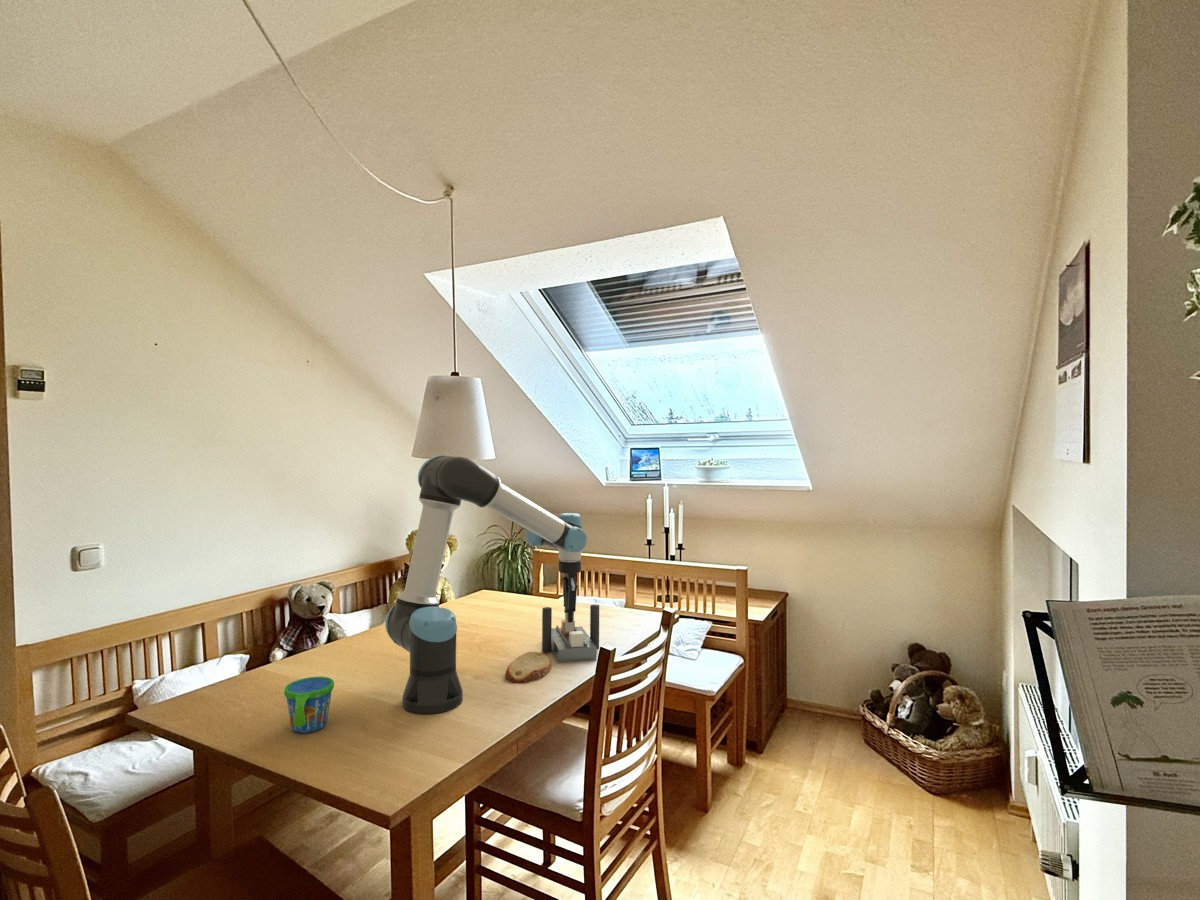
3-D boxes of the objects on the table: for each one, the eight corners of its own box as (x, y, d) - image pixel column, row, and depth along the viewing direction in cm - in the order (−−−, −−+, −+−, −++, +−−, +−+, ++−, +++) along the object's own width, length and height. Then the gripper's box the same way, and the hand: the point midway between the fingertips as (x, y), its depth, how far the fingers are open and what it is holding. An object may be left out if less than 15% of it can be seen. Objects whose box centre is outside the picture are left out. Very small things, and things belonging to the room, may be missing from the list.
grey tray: (596, 659, 191) (596, 643, 191) (558, 662, 188) (558, 646, 188) (581, 637, 213) (581, 623, 212) (547, 640, 210) (547, 625, 210)
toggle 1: (574, 633, 204) (574, 621, 204) (562, 634, 203) (563, 622, 203) (572, 630, 207) (573, 619, 207) (561, 631, 206) (561, 619, 206)
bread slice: (539, 656, 195) (539, 644, 195) (569, 673, 180) (569, 661, 180) (487, 667, 185) (487, 655, 185) (514, 687, 170) (514, 674, 170)
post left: (552, 652, 197) (552, 609, 197) (542, 653, 197) (543, 609, 196) (550, 649, 200) (550, 606, 200) (541, 650, 200) (541, 607, 199)
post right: (600, 648, 201) (600, 606, 201) (591, 649, 201) (591, 607, 200) (597, 645, 204) (598, 604, 204) (589, 646, 203) (589, 604, 203)
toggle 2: (583, 646, 191) (583, 633, 191) (570, 647, 190) (571, 634, 190) (581, 643, 194) (581, 630, 194) (569, 644, 193) (569, 631, 193)
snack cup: (300, 713, 152) (301, 672, 152) (344, 712, 152) (344, 671, 152) (270, 743, 136) (270, 698, 136) (318, 742, 137) (319, 697, 137)
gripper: (585, 563, 197) (584, 636, 197) (576, 556, 210) (576, 624, 210) (562, 564, 195) (561, 637, 196) (555, 556, 208) (554, 625, 208)
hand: (569, 630), depth 203 cm, fingers closed
